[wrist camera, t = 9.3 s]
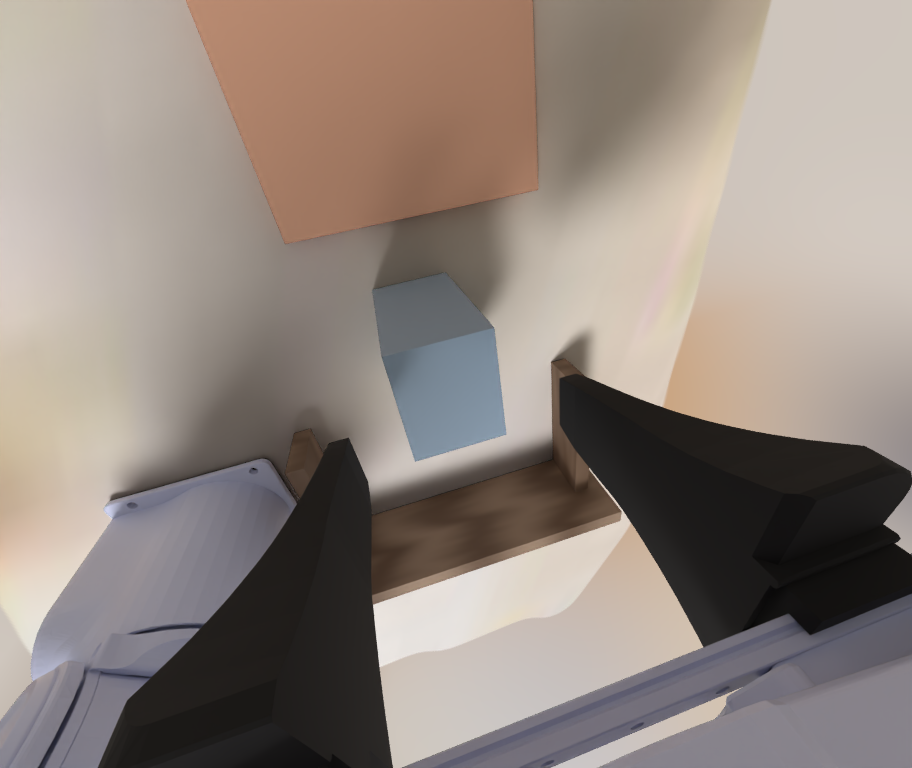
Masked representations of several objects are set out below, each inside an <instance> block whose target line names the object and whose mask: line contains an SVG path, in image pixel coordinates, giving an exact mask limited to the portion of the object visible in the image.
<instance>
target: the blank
mask: <svg viewBox="0 0 912 768" xmlns="http://www.w3.org/2000/svg"><path fill="white" fill-rule="evenodd" d="M372 293H373V299H374V306H375V313H376V320H377V327H378V334H379V341H380V348H381V355H382V359H383V362H384V366H385V369H386V372H387V375H388V378H389V381H390V384H391V387H392V391H393V394H394V397H395V400H396V403H397V406H398V409H399V413H400V416H401V419H402V422H403V425H404V428H405V431H406V434H407V438H408V441H409V444H410V447H411V450H412V453H413V456H414V460H415V462H416V461H419V460H422V459H426V458H429V457H432V456H436V455H439V454H442V453H446V452H449V451H453V450H456V449H459V448H463V447H466V446H469V445H473V444H476V443H479V442H483V441H486V440H490V439H493V438H496V437H500V436H503V435H506V427H505V418H504V409H503V401H502V392H501V383H500V374H499V365H498V357H497V348H496V339H495V330H494V327H493V326H492V325H491V324H490V322H489V321H488V320H487V319H486V318H485V317H484V316H483V314H482V313H481V312H480V311H479V310H478V309H477V308H476V306H475V305H474V304H473V303H472V302H471V301H470V300H469V298H468V297H467V296H466V295H465V294H464V293H463V292H462V291H461V289H460V288H459V287H458V286H457V285H456V284H455V283H454V281H453V280H452V279H451V278H450V277H449V276H448V275H447V273H446V272H445V273H441V274H437V275H432V276H428V277H424V278H420V279H415V280H411V281H407V282H403V283H399V284H394V285H390V286H386V287H382V288H378V289H373V290H372Z"/></svg>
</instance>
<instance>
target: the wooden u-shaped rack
mask: <svg viewBox="0 0 912 768" xmlns="http://www.w3.org/2000/svg"><path fill="white" fill-rule="evenodd" d="M551 374H552V433H553V460H550V461H547V462H544V463H541V464H537V465H534V466H531V467H528V468H524V469H521V470H518V471H515V472H511V473H508V474H505V475H502V476H499V477H495V478H492V479H489V480H486V481H482V482H479V483H476V484H473V485H469V486H466V487H463V488H460V489H457V490H453V491H450V492H447V493H444V494H440V495H437V496H434V497H431V498H427V499H424V500H421V501H418V502H415V503H411V504H408V505H405V506H402V507H398V508H395V509H392V510H389V511H385V512H382V513H379V514H376V515H373V516H372V548H371V583H372V601H373V604H376V603H379V602H382V601H385V600H388V599H391V598H394V597H397V596H400V595H402V594H405V593H408V592H411V591H414V590H417V589H420V588H423V587H426V586H429V585H432V584H435V583H438V582H441V581H444V580H447V579H450V578H453V577H456V576H459V575H462V574H464V573H467V572H470V571H473V570H476V569H479V568H482V567H485V566H488V565H491V564H494V563H497V562H500V561H503V560H506V559H509V558H512V557H515V556H518V555H521V554H524V553H527V552H529V551H532V550H535V549H538V548H541V547H544V546H547V545H550V544H553V543H556V542H559V541H562V540H565V539H568V538H571V537H574V536H577V535H580V534H583V533H586V532H589V531H591V530H594V529H597V528H600V527H603V526H606V525H609V524H612V523H615V522H618V521H620V519H621V513H622V512H621V510H620V509H619V508H618V506H617V505H616V504H615V503H614V501H613V500H612V499H611V497H610V496H609V495H608V494H607V492H606V491H605V490H604V488H603V487H602V486H601V485H600V483H599V482H598V481H597V479H596V478H595V477H594V476H593V474H592V473H591V472H590V470H589V467H588V465H587V464H586V463H585V462H584V460H583V459H582V458H581V457H580V455H579V454H578V453H577V452H576V450H575V449H574V448H573V446H572V444H571V443H570V441H569V440H568V438H567V436H566V435H565V433H564V431H563V429H562V428H561V426H560V418H559V378H561V377H565V376H569V375H572V374H579V375H582V376H584V375H583V374H582V373H581V372H580V371H578V370H577V369H576V368H575V367H574V366H573V365H572V364H571V363H570V362H568V361H567V360H566V359H561V360H558V361H554V362H551ZM584 377H585V376H584ZM322 456H323V452H322V450H321V448H320V446H319V444H318V442H317V440H316V438H315V436H314V434H313V432H312V430H311V429H308V430H304V431H300V432H297V433H294V436H293V441H292V445H291V449H290V454H289V458H288V462H287V467H286V471H285V475H286V477H287V478H288V480H289V481H290V483H291V485H292V486H293V488H294V490H295V491H296V493H297V494H298V496H299V498H301V496H302V494H303V492H304V491H305V489H306V487H307V485H308V483H309V481H310V480H311V478H312V476H313V474H314V472H315V470H316V468H317V466H318V464H319V462H320V460H321V458H322Z"/></svg>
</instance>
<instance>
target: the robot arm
mask: <svg viewBox="0 0 912 768" xmlns="http://www.w3.org/2000/svg"><path fill="white" fill-rule="evenodd" d="M559 418H560V426H561V428H562V429H563V431H564V433H565V435H566V436H567V438H568V440H569V441H570V443H571V444H572V446H573V448H574V449H575V450H576V452H577V453H578V454H579V455H580V457H581V458H582V459H583V460H584V462H585V463H586V464H587V465H588V467H589V468H590V469H591V470H592V472H593V473H594V474H595V475H596V476H597V478H598V479H599V480H600V481H601V483H602V484H603V485H604V486H605V488H606V489H607V490H608V491H609V492H610V494H611V495H612V496H613V497H614V499H615V500H616V501H617V503H618V504H619V505H620V507H621V508H622V509H623V511H624V512H625V514H626V515H627V517H628V519H629V520H630V522H631V523H632V525H633V526H634V527H635V529H636V531H637V532H638V534H639V535H640V537H641V539H642V540H643V542H644V543H645V545H646V547H647V548H648V550H649V551H650V553H651V555H652V556H653V558H654V560H655V561H656V563H657V564H658V566H659V568H660V569H661V571H662V573H663V574H664V576H665V578H666V580H667V581H668V583H669V585H670V586H671V588H672V590H673V592H674V593H675V595H676V597H677V599H678V601H679V602H680V604H681V606H682V608H683V610H684V612H685V613H686V615H687V617H688V619H689V621H690V623H691V624H692V626H693V628H694V630H695V632H696V634H697V635H698V637H699V639H700V641H701V643H702V645H703V648H701V649H698V650H696V651H693V652H691V653H688V654H686V655H683V656H681V657H678V658H676V659H673V660H671V661H668V662H666V663H663V664H661V665H658V666H656V667H653V668H651V669H648V670H646V671H643V672H640V673H638V674H636V675H633V676H631V677H628V678H625V679H623V680H621V681H618V682H615V683H613V684H610V685H608V686H605V687H603V688H600V689H598V690H595V691H593V692H590V693H588V694H585V695H583V696H580V697H578V698H575V699H573V700H570V701H568V702H565V703H563V704H560V705H558V706H555V707H553V708H550V709H548V710H545V711H543V712H540V713H538V714H535V715H533V716H530V717H528V718H525V719H523V720H520V721H518V722H516V723H513V724H510V725H508V726H505V727H503V728H500V729H498V730H495V731H493V732H490V733H488V734H485V735H483V736H480V737H478V738H475V739H473V740H470V741H467V742H465V743H462V744H460V745H457V746H455V747H452V748H450V749H447V750H445V751H442V752H440V753H437V754H435V755H432V756H430V757H428V758H425V759H422V760H420V761H418V762H415V763H413V764H410V765H407V766H405V767H402V768H551V767H553V766H556V765H558V764H560V763H563V762H565V761H568V760H570V759H572V758H575V757H577V756H579V755H582V754H584V753H587V752H589V751H591V750H593V749H596V748H599V747H601V746H603V745H606V744H608V743H610V742H613V741H615V740H618V739H620V738H622V737H625V736H627V735H630V734H632V733H634V732H637V731H639V730H641V729H644V728H646V727H648V726H651V725H653V724H656V723H658V722H660V721H663V720H665V719H668V718H670V717H672V716H675V715H677V714H679V713H682V712H684V711H686V710H689V709H691V708H694V707H696V706H699V705H701V704H703V703H706V702H708V701H711V700H713V699H715V698H717V697H720V696H722V695H725V694H727V693H729V692H732V691H734V690H737V689H739V688H741V689H739V690H738V691H736V692H734V693H732V694H731V695H729V696H728V697H727V700H726V706H725V707H724V709H723V710H722V712H721V713H720V715H719V716H718V717H716V718H715V719H714V720H711V721H709V722H706V723H703V724H700V725H698V726H695V727H693V728H690V729H687V730H685V731H682V732H680V733H677V734H675V735H672V736H670V737H667V738H665V739H662V740H660V741H657V742H655V743H653V744H650V745H648V746H646V747H643V748H641V749H639V750H636V751H634V752H632V753H629V754H627V755H625V756H622V757H620V758H618V759H616V760H614V761H611V762H609V763H607V764H605V765H603V766H601V767H599V768H912V553H911V554H909V553H908V552H906V551H905V550H903V549H902V548H900V547H899V546H897V545H896V544H895V543H896V542H898V541H899V540H900V537H899V535H898V534H897V533H895V532H894V531H892V530H891V529H889V528H888V527H886V526H885V525H883V523H884V522H885V521H886V520H887V518H888V517H889V516H890V515H891V513H892V512H893V511H894V510H895V508H896V507H897V506H898V505H899V504H900V502H901V501H902V500H903V499H904V497H905V496H906V494H907V493H908V491H909V490H910V487H911V485H912V475H911V471H909V470H907V469H906V468H904V467H902V466H900V465H898V464H897V463H895V462H893V461H891V460H889V459H888V458H886V457H884V456H882V455H880V454H879V453H877V452H875V451H873V450H871V449H869V448H867V447H865V446H860V445H850V444H841V443H832V442H822V441H813V440H805V439H798V438H791V437H785V436H778V435H771V434H766V433H761V432H755V431H750V430H745V429H740V428H736V427H731V426H726V425H722V424H718V423H714V422H709V421H705V420H702V419H699V418H695V417H691V416H688V415H684V414H681V413H678V412H675V411H672V410H668V409H666V408H663V407H660V406H657V405H654V404H651V403H649V402H646V401H643V400H641V399H638V398H635V397H633V396H630V395H628V394H625V393H623V392H621V391H618V390H616V389H613V388H611V387H609V386H606V385H604V384H601V383H599V382H597V381H594V380H592V379H590V378H587V377H584V376H582V375H579V374H572V375H569V376H565V377H561V378H559ZM251 468H256V469H257V470H253V469H251ZM135 503H136V504H135ZM104 512H105V513H106V514H107V515H108V516H110V517H111V518H112V521H111V522H110V524H109V525H108V526H107V528H106V529H105V531H104V532H103V534H102V535H101V537H100V538H99V539H98V541H97V542H96V544H95V545H94V547H93V548H92V550H91V551H90V552H89V554H88V555H87V557H86V558H85V560H84V561H83V563H82V564H81V565H80V567H79V568H78V570H77V571H76V573H75V574H74V576H73V577H72V578H71V580H70V581H69V583H68V584H67V586H66V587H65V589H64V590H63V591H62V593H61V594H60V596H59V597H58V599H57V600H56V602H55V603H54V604H53V606H52V607H51V609H50V610H49V612H48V613H47V615H46V617H45V619H44V620H43V622H42V624H41V627H40V629H39V631H38V633H37V637H36V640H35V643H34V647H33V652H32V659H31V676H32V680H33V682H32V683H31V684H30V685H29V686H28V687H27V688H26V689H25V690H24V691H23V692H22V694H21V695H20V696H19V697H18V699H17V700H16V701H15V702H14V704H13V705H12V706H11V708H10V709H9V710H8V711H7V713H6V714H5V715H4V717H3V718H2V719H1V721H0V768H393V765H392V759H391V752H390V745H389V737H388V730H387V723H386V716H385V709H384V701H383V694H382V685H381V677H380V668H379V660H378V651H377V641H376V632H375V622H374V611H373V601H372V583H371V548H372V510H371V502H370V493H369V486H368V481H367V478H366V476H365V474H364V472H363V469H362V467H361V465H360V462H359V460H358V458H357V456H356V453H355V451H354V449H353V447H352V444H351V442H350V440H349V438H346V439H343V440H339V441H336V442H332V443H329V445H328V446H327V448H326V450H325V452H324V454H323V456H322V458H321V460H320V462H319V464H318V466H317V468H316V470H315V472H314V474H313V476H312V478H311V480H310V481H309V483H308V485H307V487H306V489H305V491H304V492H303V494H302V496H301V498H300V500H299V501H298V503H296V501H295V499H294V498H293V496H292V495H291V493H290V492H289V490H288V488H287V487H286V485H285V484H284V482H283V481H282V479H281V477H280V476H279V474H278V473H277V471H276V469H275V468H274V466H273V465H272V463H271V462H270V461H269V460H267V459H258V460H255V461H251V462H247V463H244V464H240V465H237V466H233V467H230V468H226V469H222V470H219V471H215V472H212V473H208V474H205V475H201V476H198V477H194V478H190V479H187V480H183V481H180V482H176V483H173V484H169V485H165V486H162V487H158V488H155V489H151V490H148V491H144V492H141V493H137V494H133V495H130V496H126V497H123V498H119V499H116V500H112V501H110V502H108V503H107V504H106V506H105V507H104Z"/></svg>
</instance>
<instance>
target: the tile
mask: <svg viewBox="0 0 912 768" xmlns="http://www.w3.org/2000/svg"><path fill="white" fill-rule="evenodd" d="M186 2H187V5H188V7H189V10H190V12H191V14H192V17H193V19H194V22H195V24H196V27H197V29H198V32H199V34H200V37H201V39H202V41H203V44H204V46H205V49H206V51H207V54H208V56H209V59H210V61H211V64H212V66H213V68H214V71H215V73H216V76H217V78H218V81H219V83H220V86H221V88H222V91H223V93H224V95H225V98H226V100H227V103H228V105H229V108H230V110H231V113H232V115H233V117H234V120H235V122H236V125H237V127H238V130H239V132H240V135H241V137H242V140H243V142H244V144H245V147H246V149H247V152H248V154H249V157H250V159H251V162H252V164H253V167H254V169H255V171H256V174H257V176H258V179H259V181H260V184H261V186H262V189H263V191H264V194H265V196H266V198H267V201H268V203H269V206H270V208H271V211H272V213H273V216H274V218H275V220H276V223H277V225H278V228H279V230H280V233H281V235H282V238H283V240H284V243H285V244H289V243H293V242H298V241H302V240H307V239H312V238H316V237H321V236H326V235H330V234H335V233H340V232H344V231H349V230H354V229H358V228H363V227H368V226H372V225H377V224H382V223H386V222H391V221H396V220H400V219H405V218H409V217H414V216H419V215H423V214H428V213H433V212H437V211H442V210H447V209H451V208H456V207H461V206H465V205H470V204H475V203H479V202H484V201H489V200H493V199H498V198H503V197H507V196H512V195H516V194H521V193H526V192H530V191H535V190H538V160H537V127H536V95H535V62H534V29H533V0H186Z"/></svg>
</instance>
